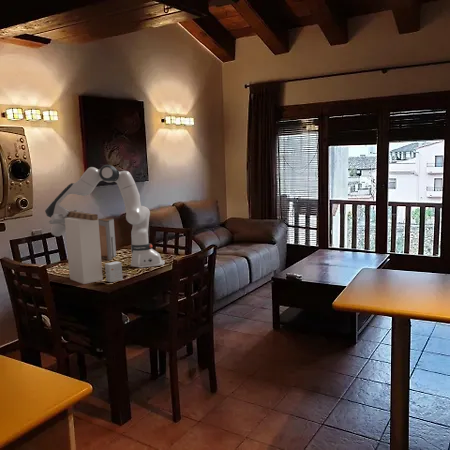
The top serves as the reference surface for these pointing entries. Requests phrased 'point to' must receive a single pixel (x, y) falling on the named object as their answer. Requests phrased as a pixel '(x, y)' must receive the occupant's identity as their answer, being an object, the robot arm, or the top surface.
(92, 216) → the walnut bar
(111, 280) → the small box
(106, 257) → the cabinet
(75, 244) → the off-white pedestal
